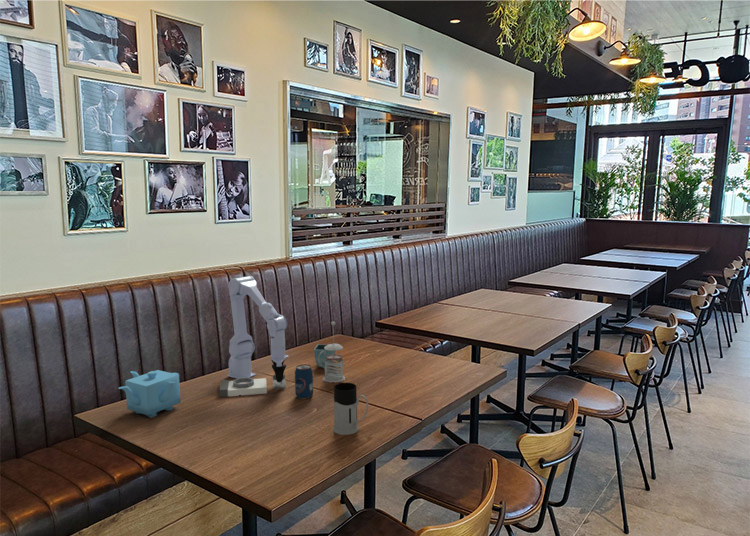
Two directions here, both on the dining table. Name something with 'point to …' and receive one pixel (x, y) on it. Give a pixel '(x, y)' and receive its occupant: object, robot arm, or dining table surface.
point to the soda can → (303, 381)
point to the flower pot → (322, 354)
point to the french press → (333, 374)
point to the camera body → (243, 387)
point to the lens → (278, 383)
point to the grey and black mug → (346, 408)
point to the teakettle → (152, 392)
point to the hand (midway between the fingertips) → (279, 378)
